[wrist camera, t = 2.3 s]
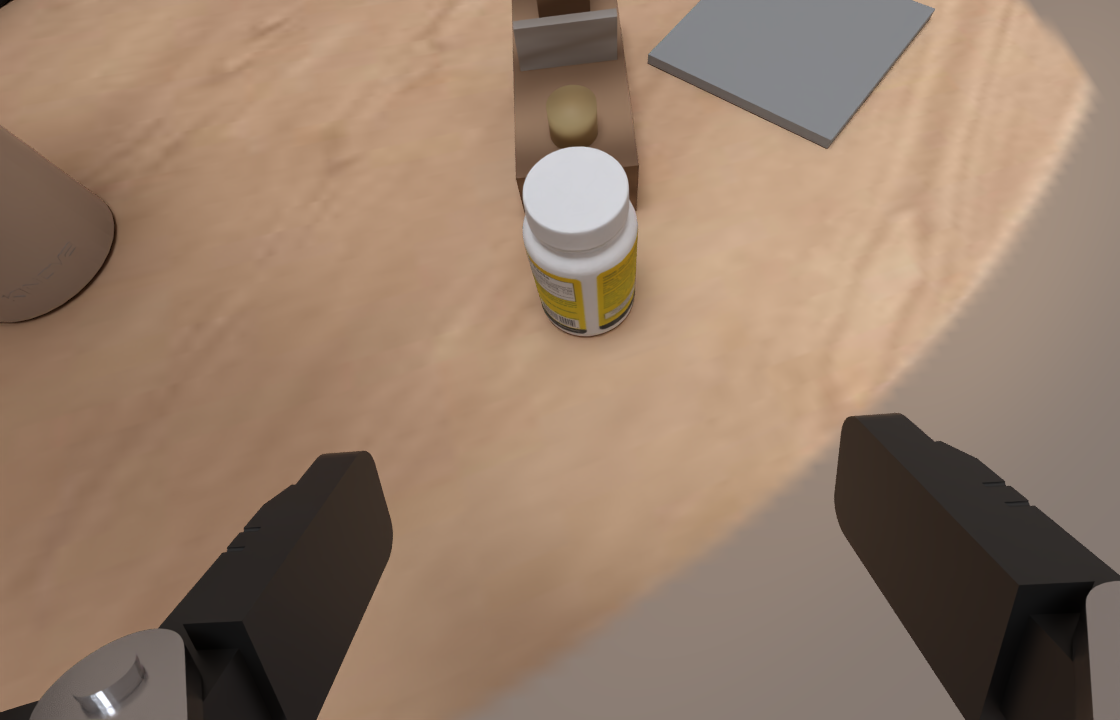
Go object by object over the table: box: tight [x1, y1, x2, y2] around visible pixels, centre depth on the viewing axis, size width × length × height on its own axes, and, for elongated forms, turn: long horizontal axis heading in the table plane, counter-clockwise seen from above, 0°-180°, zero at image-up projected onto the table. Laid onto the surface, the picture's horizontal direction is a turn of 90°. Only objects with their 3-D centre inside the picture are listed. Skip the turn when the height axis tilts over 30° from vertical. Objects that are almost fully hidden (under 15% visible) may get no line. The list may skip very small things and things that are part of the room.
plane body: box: [512, 0, 639, 212], centre depth 29 cm, size 14×6×7 cm, turn 3°
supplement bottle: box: [523, 147, 638, 336], centre depth 24 cm, size 5×5×8 cm
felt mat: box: [648, 0, 935, 148], centre depth 32 cm, size 12×12×1 cm
